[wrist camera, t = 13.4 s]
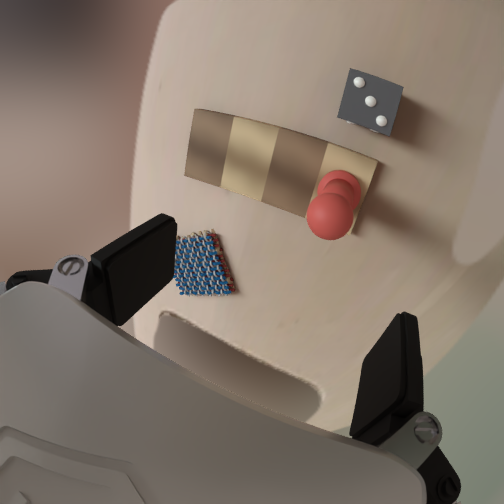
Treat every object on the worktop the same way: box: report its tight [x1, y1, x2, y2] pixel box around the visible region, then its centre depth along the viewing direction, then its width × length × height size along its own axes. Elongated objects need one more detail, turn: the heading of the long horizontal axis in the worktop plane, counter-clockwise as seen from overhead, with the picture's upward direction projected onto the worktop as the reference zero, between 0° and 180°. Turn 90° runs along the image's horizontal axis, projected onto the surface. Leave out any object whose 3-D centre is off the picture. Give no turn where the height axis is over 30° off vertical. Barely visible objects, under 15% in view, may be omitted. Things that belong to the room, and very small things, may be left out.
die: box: [337, 68, 403, 137], centre depth 22 cm, size 5×5×5 cm
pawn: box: [307, 170, 361, 240], centre depth 24 cm, size 5×5×10 cm
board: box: [184, 109, 378, 236], centre depth 31 cm, size 9×22×1 cm, turn 77°
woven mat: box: [173, 229, 235, 296], centre depth 42 cm, size 10×11×2 cm
